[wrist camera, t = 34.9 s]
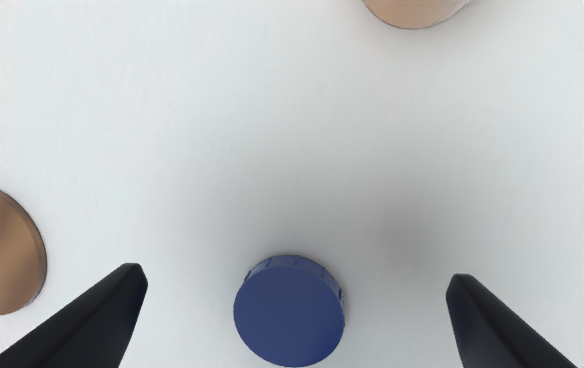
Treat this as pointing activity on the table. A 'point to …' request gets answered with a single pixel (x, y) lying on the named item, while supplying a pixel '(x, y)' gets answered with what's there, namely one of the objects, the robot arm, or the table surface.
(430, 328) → the table surface
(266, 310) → the jar lid
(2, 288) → the coaster
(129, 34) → the table surface
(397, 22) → the jar
